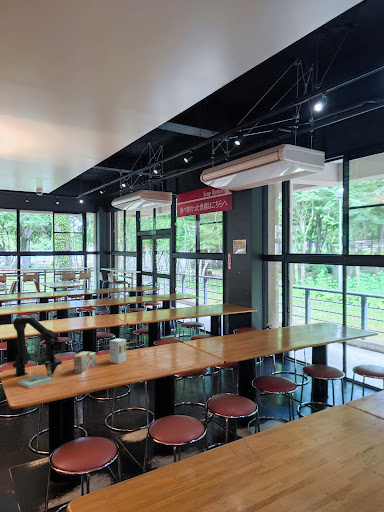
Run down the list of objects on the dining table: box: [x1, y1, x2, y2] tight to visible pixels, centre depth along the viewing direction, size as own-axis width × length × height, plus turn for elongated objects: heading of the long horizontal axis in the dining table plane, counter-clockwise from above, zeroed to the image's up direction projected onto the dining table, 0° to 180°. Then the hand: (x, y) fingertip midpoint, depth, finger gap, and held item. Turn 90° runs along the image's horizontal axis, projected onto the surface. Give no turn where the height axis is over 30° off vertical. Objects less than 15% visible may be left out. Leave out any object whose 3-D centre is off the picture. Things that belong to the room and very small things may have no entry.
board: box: [17, 373, 53, 389], centre depth 227 cm, size 14×16×2 cm
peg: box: [46, 364, 55, 378], centre depth 238 cm, size 4×4×8 cm
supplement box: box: [109, 337, 127, 364], centre depth 271 cm, size 10×9×17 cm
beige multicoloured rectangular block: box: [73, 351, 97, 374], centre depth 254 cm, size 21×6×12 cm, turn 168°
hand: (50, 373), depth 238 cm, fingers closed on peg, 4 cm apart
